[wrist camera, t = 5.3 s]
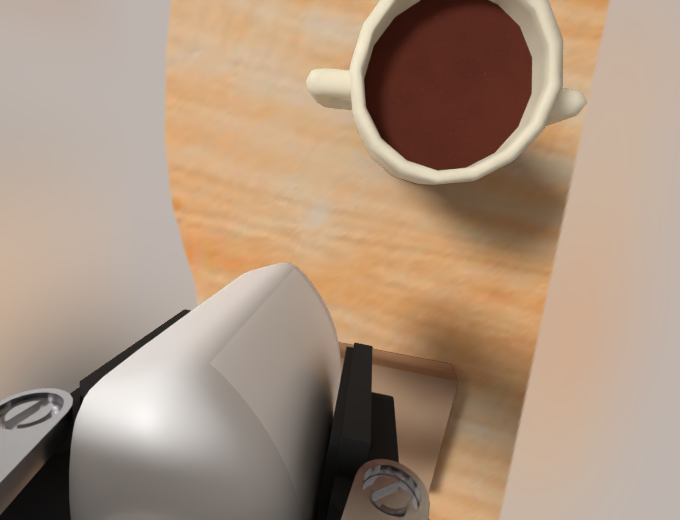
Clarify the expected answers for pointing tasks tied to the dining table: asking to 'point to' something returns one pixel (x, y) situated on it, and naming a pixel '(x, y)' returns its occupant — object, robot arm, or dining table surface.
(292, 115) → the dining table surface
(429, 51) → the character mug
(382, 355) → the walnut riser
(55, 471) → the robot arm
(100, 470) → the eye dropper bottle
